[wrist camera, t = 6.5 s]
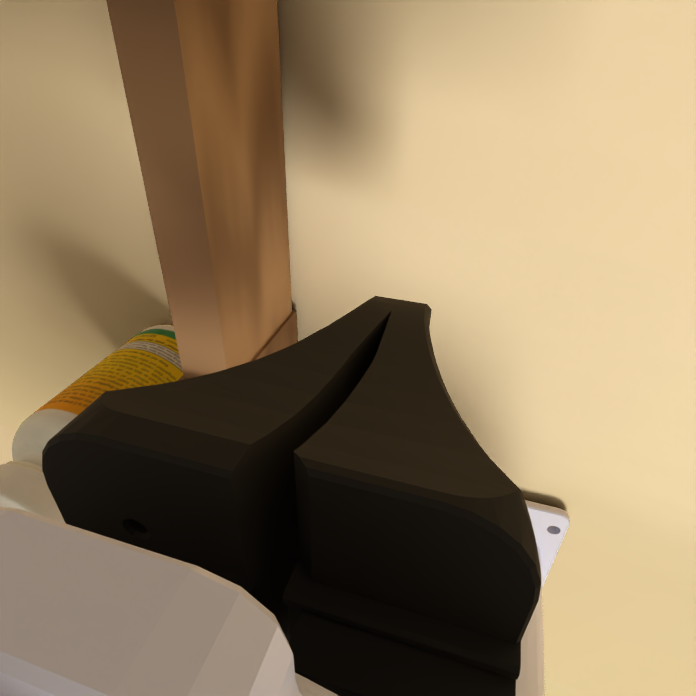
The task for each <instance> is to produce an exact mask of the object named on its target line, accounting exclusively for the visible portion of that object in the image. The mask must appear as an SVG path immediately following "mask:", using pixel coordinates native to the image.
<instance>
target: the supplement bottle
mask: <svg viewBox="0 0 696 696" xmlns="http://www.w3.org/2000/svg"><path fill="white" fill-rule="evenodd" d="M182 376H183V371H182V366H181V361H180V356H179V351H178V346H177V341H176V337H175V332H174V327H173V325H156V326H152V327H148V328H146V329H144V330H143V331H141V332H140V333H139V334H137V335H136V336H134V337H133V338H132V339H130V340H129V341H128V342H127V343H125V344H124V345H122V346H121V347H120V348H118V349H117V350H116V351H114V352H113V353H112V354H110V355H109V356H108V357H106V358H105V359H104V360H103V361H101V362H100V363H99V364H97V365H96V366H95V367H93V368H92V369H91V370H90V371H88V372H87V373H86V374H84V375H83V376H82V377H80V378H79V379H78V380H76V381H75V382H74V383H72V384H71V385H70V386H69V387H67V388H66V389H65V390H63V391H62V392H61V393H59V394H58V395H57V396H55V397H54V398H53V399H52V400H50V401H49V402H48V403H46V404H45V405H44V406H42V407H41V408H40V409H38V410H37V411H36V412H34V413H33V414H32V415H30V416H29V417H28V418H27V419H26V420H25V421H24V422H23V423H22V424H21V425H20V427H19V428H18V430H17V432H16V434H15V436H14V439H13V444H12V456H13V461H10V462H8V463H6V464H2V465H0V507H9V508H17V509H21V510H25V511H28V512H31V513H34V514H37V515H40V516H43V517H46V518H50V519H53V520H56V521H59V522H62V523H65V521H64V519H63V517H62V515H61V513H60V511H59V509H58V507H57V504H56V502H55V500H54V498H53V496H52V494H51V492H50V490H49V488H48V486H47V483H46V480H45V477H44V474H43V471H42V451H43V449H44V448H45V446H46V444H47V442H48V441H49V440H50V439H51V438H52V437H53V436H54V435H56V434H57V433H58V432H59V431H60V430H61V429H63V428H64V427H65V426H66V425H67V424H68V423H69V422H71V421H72V420H73V419H74V418H75V417H76V416H78V415H79V414H80V413H81V412H82V411H83V410H84V409H86V408H87V407H88V406H89V405H90V404H91V403H93V402H94V401H95V400H96V399H97V398H98V397H99V396H101V395H102V394H103V393H104V392H105V391H112V390H121V389H128V388H135V387H143V386H150V385H157V384H163V383H169V382H174V381H178V380H179V379H180V378H181V377H182ZM65 524H66V523H65Z"/></svg>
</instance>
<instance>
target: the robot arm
mask: <svg viewBox="0 0 696 696" xmlns="http://www.w3.org/2000/svg"><path fill="white" fill-rule="evenodd" d="M430 317H431V308H430V307H429V306H428V305H427V304H422V303H416V302H410V301H404V300H397V299H391V298H385V297H379V296H375V297H373V298H371V299H370V300H368V301H366V302H365V303H363V304H362V305H360V306H359V307H357V308H356V309H354V310H353V311H351V312H350V313H348V314H346V315H345V316H343V317H341V318H340V319H338V320H337V321H335V322H333V323H332V324H330V325H329V326H327V327H325V328H323V329H321V330H319V331H318V332H316V333H314V334H312V335H310V336H308V337H306V338H305V339H303V340H301V341H299V342H297V343H295V344H293V345H291V346H289V347H286V348H284V349H282V350H279V351H277V352H275V353H272V354H270V355H267V356H265V357H262V358H259V359H257V360H254V361H251V362H247V363H244V364H241V365H238V366H235V367H231V368H228V369H225V370H222V371H218V372H215V373H211V374H206V375H202V376H198V377H194V378H189V379H184V380H179V381H174V382H169V383H163V384H157V385H150V386H143V387H135V388H128V389H121V390H112V391H105V392H104V393H103V394H102V395H101V396H99V397H98V398H97V399H96V400H95V401H94V402H93V403H91V404H90V405H89V406H88V407H87V408H86V409H84V410H83V411H82V412H81V413H80V414H79V415H78V416H76V417H75V418H74V419H73V420H72V421H71V422H69V423H68V424H67V425H66V426H65V427H64V428H63V429H61V430H60V431H59V432H58V433H57V434H56V435H54V436H53V437H52V438H51V439H50V440H49V441H48V442H47V444H46V446H45V448H44V449H43V451H42V471H43V474H44V477H45V480H46V483H47V486H48V488H49V490H50V492H51V494H52V496H53V498H54V500H55V502H56V504H57V507H58V509H59V511H60V513H61V515H62V517H63V519H64V521H65V523H66V524H65V523H62V522H59V521H56V520H53V519H50V518H46V517H43V516H40V515H37V514H34V513H31V512H28V511H25V510H21V509H17V508H9V507H0V696H545V672H544V635H543V597H542V587H543V585H544V583H545V580H546V578H547V576H548V573H549V571H550V569H551V566H552V564H553V562H554V559H555V557H556V555H557V552H558V550H559V548H560V545H561V543H562V541H563V538H564V536H565V534H566V531H567V529H568V527H569V523H570V520H569V515H568V513H567V512H566V511H565V510H563V509H560V508H556V507H552V506H548V505H544V504H540V503H536V502H532V501H528V500H525V499H524V496H523V493H522V492H521V490H520V489H519V488H518V487H517V486H516V485H515V484H514V483H513V482H512V481H511V480H510V479H509V478H508V477H507V476H506V475H505V474H504V473H503V472H502V471H501V470H500V469H499V468H498V466H497V465H496V464H495V463H494V462H493V461H492V460H491V459H490V458H489V457H488V455H487V454H486V453H485V452H484V450H483V449H482V448H481V447H480V445H479V444H478V442H477V441H476V439H475V438H474V436H473V435H472V433H471V432H470V430H469V429H468V427H467V426H466V424H465V423H464V421H463V420H462V418H461V417H460V415H459V413H458V411H457V410H456V408H455V406H454V404H453V402H452V400H451V398H450V396H449V394H448V392H447V390H446V387H445V385H444V383H443V380H442V378H441V375H440V372H439V369H438V366H437V363H436V360H435V356H434V352H433V348H432V343H431V338H430V331H429V324H430ZM552 526H556V527H552Z"/></svg>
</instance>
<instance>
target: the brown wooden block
mask: <svg viewBox="0 0 696 696" xmlns="http://www.w3.org/2000/svg"><path fill="white" fill-rule="evenodd" d="M107 5H108V10H109V15H110V20H111V25H112V29H113V34H114V39H115V44H116V49H117V54H118V59H119V64H120V68H121V73H122V78H123V83H124V88H125V93H126V98H127V103H128V107H129V112H130V117H131V122H132V127H133V132H134V137H135V142H136V146H137V151H138V156H139V161H140V166H141V171H142V176H143V181H144V185H145V190H146V195H147V200H148V205H149V210H150V215H151V220H152V224H153V229H154V234H155V239H156V244H157V249H158V254H159V259H160V263H161V268H162V273H163V278H164V283H165V288H166V293H167V298H168V302H169V307H170V312H171V317H172V322H173V327H174V332H175V337H176V341H177V346H178V351H179V356H180V361H181V366H182V371H183V376H182V377H181V378H180V379H179V380H184V379H189V378H194V377H198V376H202V375H206V374H211V373H215V372H218V371H222V370H225V369H228V368H231V367H235V366H238V365H241V364H244V363H247V362H251V361H254V360H257V359H259V358H262V357H265V356H267V355H270V354H272V353H275V352H277V351H279V350H282V349H284V348H286V347H289V346H291V345H293V344H295V343H297V342H298V339H297V315H296V310H292V303H291V282H290V261H289V240H288V219H287V198H286V177H285V156H284V135H283V114H282V94H281V73H280V52H279V31H278V10H277V0H107ZM179 380H178V381H179Z"/></svg>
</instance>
